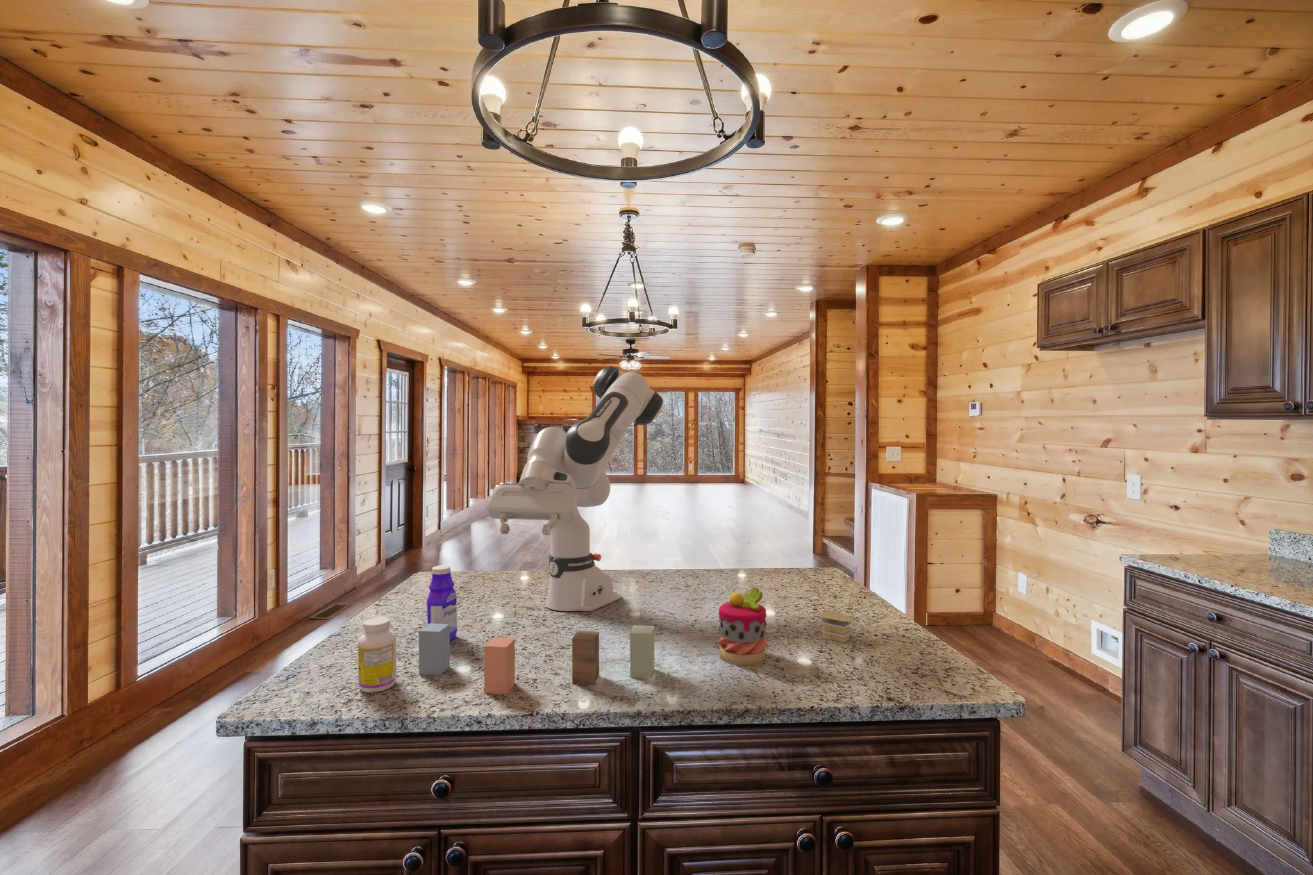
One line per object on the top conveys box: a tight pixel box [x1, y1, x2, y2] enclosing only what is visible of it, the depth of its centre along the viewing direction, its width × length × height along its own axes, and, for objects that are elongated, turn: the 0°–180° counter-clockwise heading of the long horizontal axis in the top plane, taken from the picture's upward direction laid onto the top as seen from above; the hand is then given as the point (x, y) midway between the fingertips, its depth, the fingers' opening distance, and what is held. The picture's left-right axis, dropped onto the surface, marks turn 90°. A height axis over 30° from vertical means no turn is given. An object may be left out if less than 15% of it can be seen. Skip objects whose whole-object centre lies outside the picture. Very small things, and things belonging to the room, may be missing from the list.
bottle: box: [426, 564, 458, 641], centre depth 137 cm, size 7×6×17 cm
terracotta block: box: [483, 637, 516, 695], centre depth 112 cm, size 4×4×9 cm
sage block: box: [629, 625, 655, 679], centre depth 119 cm, size 4×4×9 cm
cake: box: [717, 586, 768, 667], centre depth 127 cm, size 10×11×15 cm
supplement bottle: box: [357, 616, 397, 694], centre depth 113 cm, size 7×7×13 cm
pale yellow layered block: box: [820, 610, 852, 644], centre depth 139 cm, size 10×9×6 cm
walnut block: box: [571, 630, 600, 686], centre depth 116 cm, size 4×4×9 cm
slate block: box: [418, 623, 451, 677], centre depth 120 cm, size 4×4×9 cm
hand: (524, 533), depth 126 cm, fingers open, 8 cm apart
